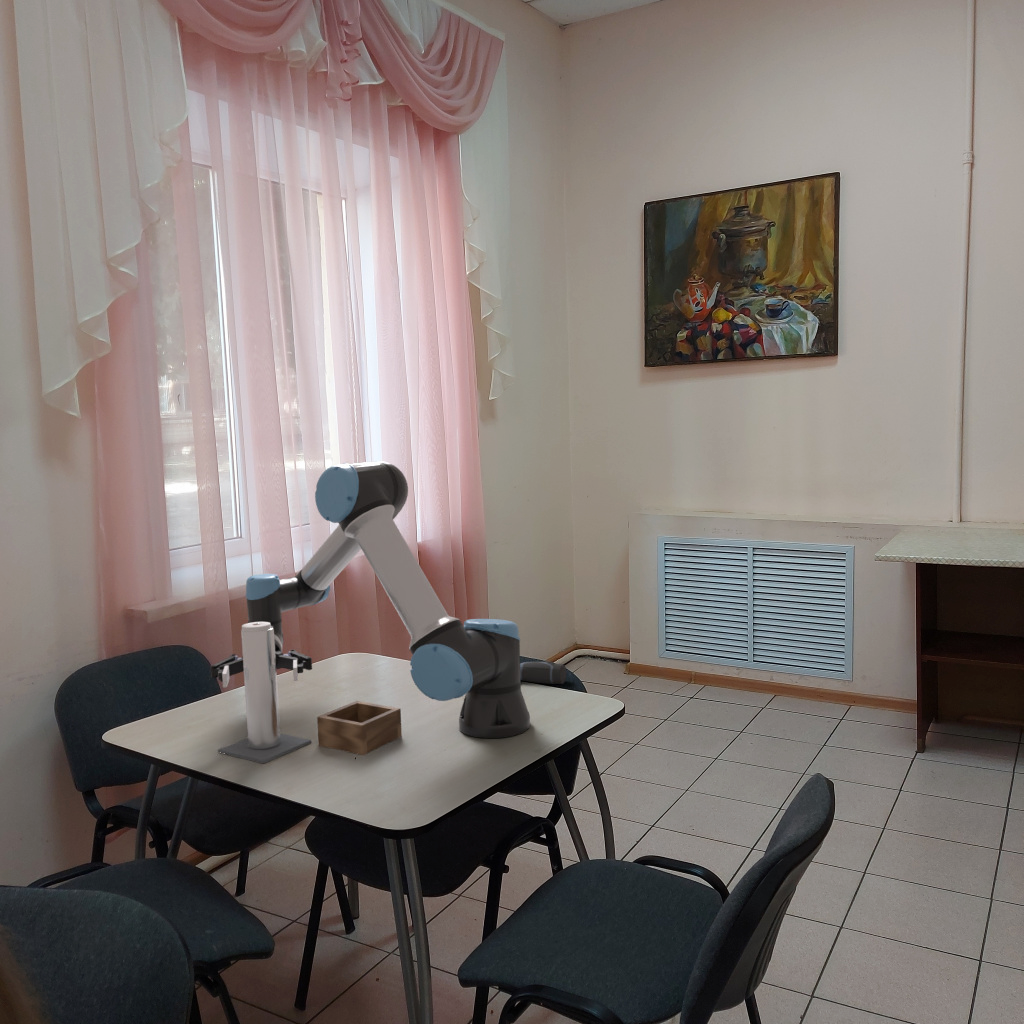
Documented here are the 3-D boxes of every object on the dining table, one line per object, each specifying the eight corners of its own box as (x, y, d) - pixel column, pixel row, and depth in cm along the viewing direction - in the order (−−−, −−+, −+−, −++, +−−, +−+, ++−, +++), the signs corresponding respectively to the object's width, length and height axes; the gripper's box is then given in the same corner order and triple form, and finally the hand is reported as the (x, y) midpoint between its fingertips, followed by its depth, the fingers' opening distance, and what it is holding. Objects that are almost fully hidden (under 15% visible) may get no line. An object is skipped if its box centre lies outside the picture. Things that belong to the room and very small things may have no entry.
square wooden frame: (401, 736, 191) (400, 708, 190) (363, 755, 181) (361, 725, 180) (358, 728, 197) (356, 700, 197) (318, 745, 187) (317, 716, 187)
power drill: (545, 699, 214) (468, 693, 222) (571, 678, 232) (498, 673, 239) (544, 677, 214) (467, 671, 222) (570, 657, 231) (497, 653, 239)
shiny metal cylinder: (272, 750, 183) (264, 627, 181) (242, 749, 184) (234, 627, 182) (286, 739, 189) (279, 620, 187) (257, 738, 191) (249, 620, 189)
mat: (311, 742, 189) (311, 739, 189) (263, 763, 178) (263, 760, 178) (266, 733, 196) (266, 730, 196) (218, 752, 185) (218, 749, 185)
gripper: (322, 663, 206) (325, 689, 185) (206, 674, 201) (195, 701, 180) (321, 631, 205) (323, 653, 185) (204, 640, 200) (193, 664, 179)
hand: (260, 677), depth 182 cm, fingers open, 13 cm apart
